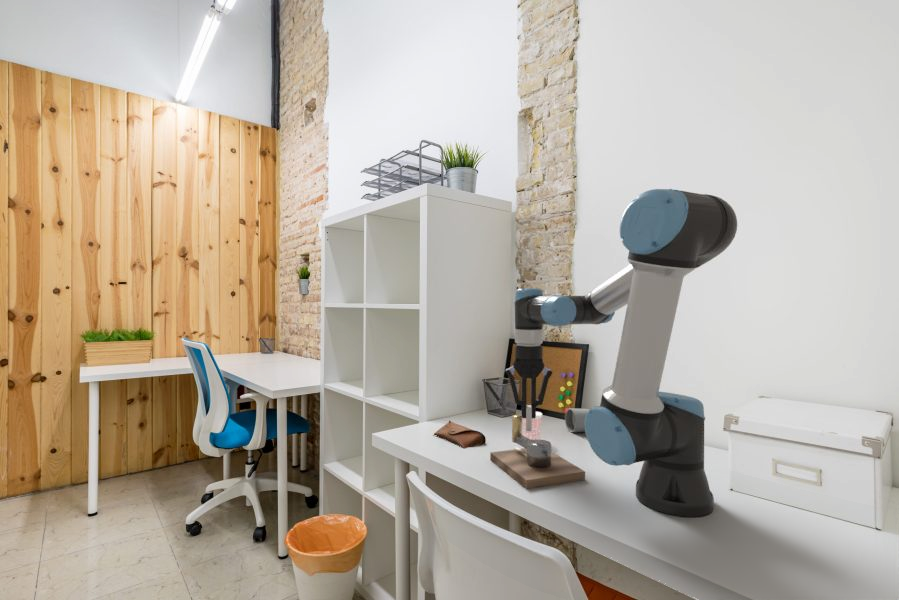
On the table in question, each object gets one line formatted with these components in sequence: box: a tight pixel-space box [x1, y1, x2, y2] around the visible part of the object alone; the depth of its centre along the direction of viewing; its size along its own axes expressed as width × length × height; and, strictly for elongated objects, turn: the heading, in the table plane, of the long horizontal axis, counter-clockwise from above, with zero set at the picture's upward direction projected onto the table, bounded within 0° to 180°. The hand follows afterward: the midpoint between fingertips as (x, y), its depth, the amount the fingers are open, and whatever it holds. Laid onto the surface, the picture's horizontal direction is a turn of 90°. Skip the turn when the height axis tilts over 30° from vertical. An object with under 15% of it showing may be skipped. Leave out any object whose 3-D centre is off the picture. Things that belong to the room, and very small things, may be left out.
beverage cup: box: [522, 410, 543, 440], centre depth 137 cm, size 6×6×14 cm
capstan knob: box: [511, 414, 552, 467], centre depth 118 cm, size 15×6×9 cm, turn 22°
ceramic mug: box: [564, 407, 591, 433], centre depth 151 cm, size 11×8×8 cm
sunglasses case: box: [433, 420, 487, 449], centre depth 142 cm, size 18×7×7 cm, turn 38°
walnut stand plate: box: [489, 446, 586, 490], centre depth 116 cm, size 20×16×2 cm
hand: (528, 429), depth 125 cm, fingers closed
